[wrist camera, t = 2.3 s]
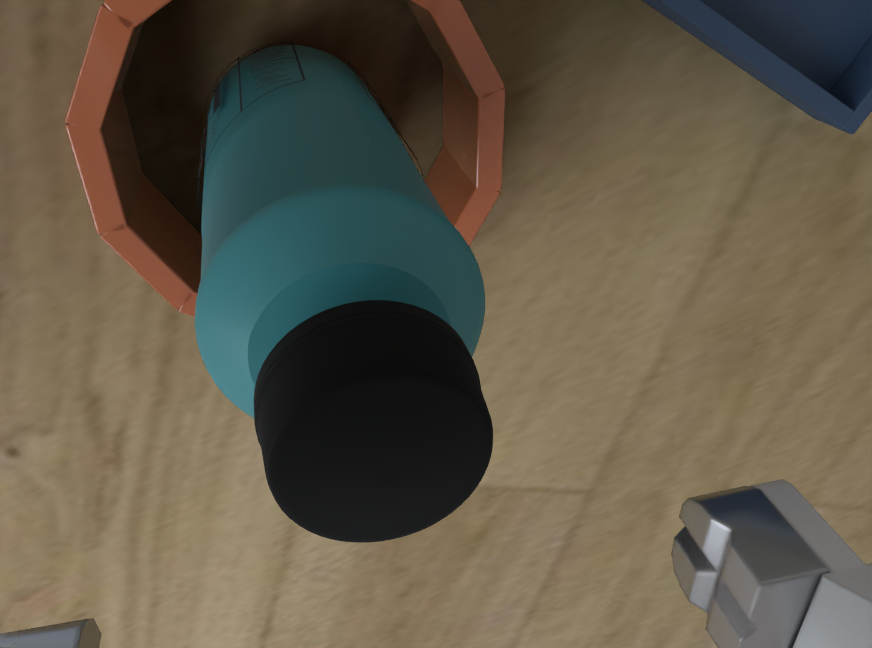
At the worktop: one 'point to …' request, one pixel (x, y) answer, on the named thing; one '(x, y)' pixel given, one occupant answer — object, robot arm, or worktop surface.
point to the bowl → (166, 227)
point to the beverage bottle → (338, 302)
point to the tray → (792, 49)
